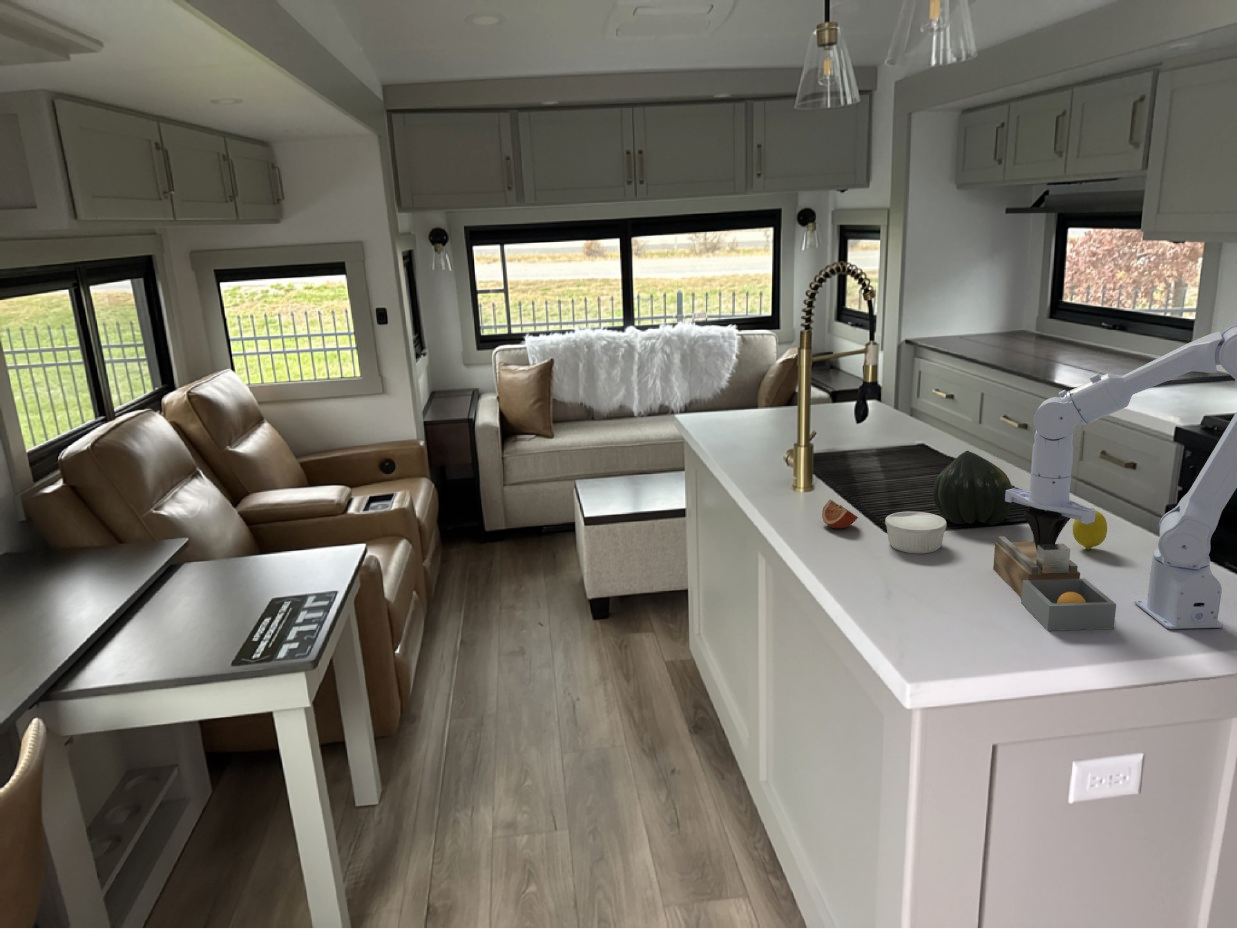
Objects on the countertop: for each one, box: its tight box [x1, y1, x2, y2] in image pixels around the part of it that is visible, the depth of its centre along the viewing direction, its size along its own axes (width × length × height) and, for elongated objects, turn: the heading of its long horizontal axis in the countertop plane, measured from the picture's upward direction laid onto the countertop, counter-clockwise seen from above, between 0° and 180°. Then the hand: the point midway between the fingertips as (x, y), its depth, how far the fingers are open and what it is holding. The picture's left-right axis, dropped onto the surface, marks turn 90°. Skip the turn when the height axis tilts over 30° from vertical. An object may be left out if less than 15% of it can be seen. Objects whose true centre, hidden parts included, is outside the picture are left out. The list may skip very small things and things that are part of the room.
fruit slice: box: [821, 499, 859, 529], centre depth 172 cm, size 8×7×5 cm
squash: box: [932, 450, 1013, 526], centre depth 170 cm, size 14×15×15 cm
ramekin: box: [884, 511, 947, 555], centre depth 159 cm, size 11×11×5 cm
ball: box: [1057, 592, 1086, 604], centre depth 126 cm, size 4×4×4 cm
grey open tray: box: [1020, 577, 1117, 631], centre depth 128 cm, size 10×10×4 cm
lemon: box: [1072, 507, 1108, 550], centre depth 152 cm, size 6×6×8 cm
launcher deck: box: [992, 535, 1081, 598], centre depth 139 cm, size 14×8×6 cm, turn 177°
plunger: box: [1036, 543, 1071, 574], centre depth 132 cm, size 2×4×4 cm, turn 87°
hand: (1044, 553), depth 135 cm, fingers closed
